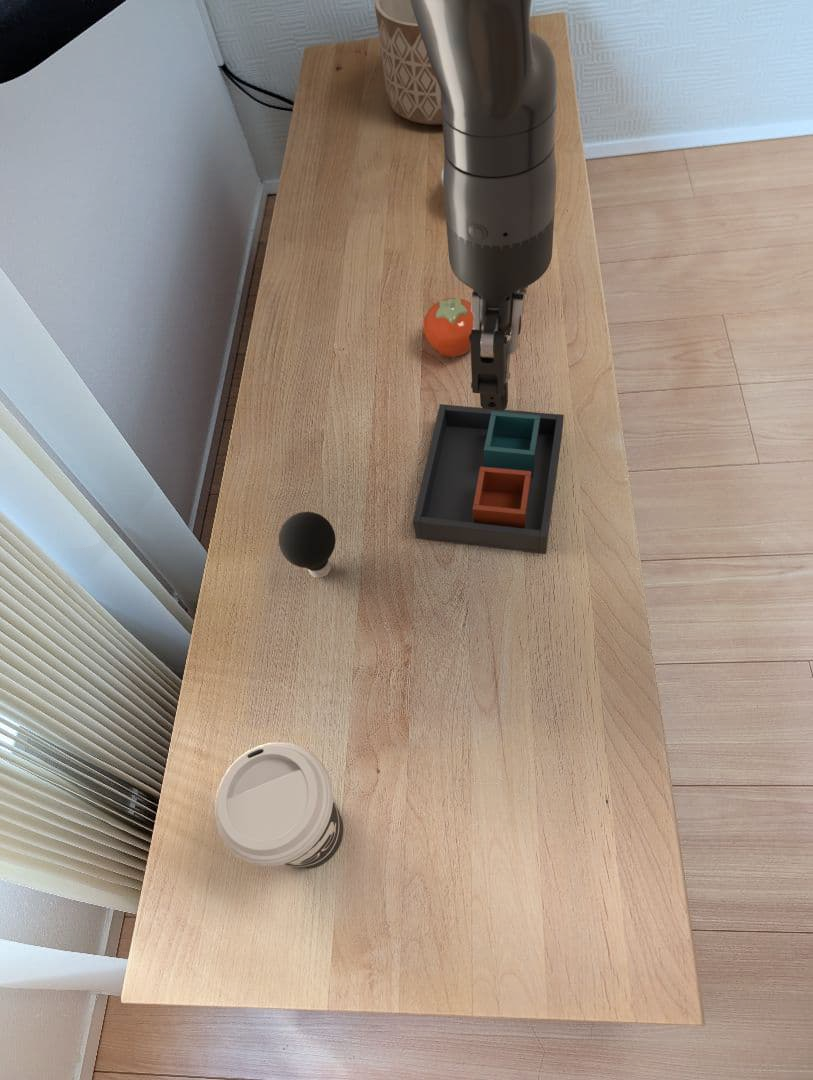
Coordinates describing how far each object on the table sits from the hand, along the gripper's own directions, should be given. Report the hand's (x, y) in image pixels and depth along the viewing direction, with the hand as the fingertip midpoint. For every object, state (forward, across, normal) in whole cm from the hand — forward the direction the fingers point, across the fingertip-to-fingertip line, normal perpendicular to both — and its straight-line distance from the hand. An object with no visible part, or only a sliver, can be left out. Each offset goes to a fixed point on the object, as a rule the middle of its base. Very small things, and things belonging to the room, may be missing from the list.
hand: (501, 368), depth 68 cm
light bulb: (+24, -10, +19) cm, 32 cm away
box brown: (+24, 0, 0) cm, 24 cm away
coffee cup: (+24, -37, +13) cm, 46 cm away
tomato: (+24, +25, +10) cm, 36 cm away
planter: (+24, +80, +21) cm, 86 cm away
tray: (+24, +4, +2) cm, 25 cm away
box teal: (+24, +8, 0) cm, 25 cm away
